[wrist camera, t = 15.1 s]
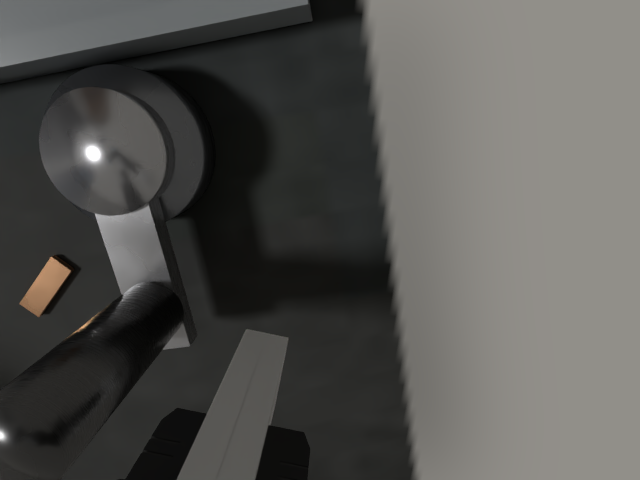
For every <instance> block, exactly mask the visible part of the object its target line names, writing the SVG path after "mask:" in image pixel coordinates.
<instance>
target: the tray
mask: <svg viewBox="0 0 640 480" xmlns="http://www.w3.org/2000/svg"><path fill="white" fill-rule="evenodd" d="M311 21H313V20H312V13H311V7H310V1H309V0H0V84H2V83H7V82H12V81H17V80H22V79H27V78H32V77H37V76H42V75H47V74H52V73H57V72H62V71H67V70H72V69H77V68H82V67H87V66H92V65H97V64H101V63H106V62H111V61H116V60H121V59H126V58H131V57H136V56H141V55H146V54H151V53H156V52H161V51H166V50H171V49H176V48H181V47H186V46H191V45H196V44H201V43H206V42H211V41H216V40H221V39H226V38H231V37H236V36H241V35H246V34H251V33H256V32H261V31H266V30H271V29H276V28H281V27H286V26H291V25H296V24H301V23H306V22H311Z"/></svg>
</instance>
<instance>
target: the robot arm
mask: <svg viewBox="0 0 640 480" xmlns="http://www.w3.org/2000/svg"><path fill="white" fill-rule="evenodd" d="M288 339H289V338H287V337H283V336H278V335H273V334H268V333H263V332H258V331H253V330H249V329H246V330H245V333H244V335H243V337H242V339H241V341H240V343H239V346H238V348H237V350H236V352H235V354H234V356H233V359H232V361H231V363H230V365H229V367H228V369H227V372H226V374H225V376H224V378H223V380H222V382H221V384H220V387H219V389H218V391H217V393H216V395H215V397H214V400H213V402H212V404H211V406H210V408H209V410H208V413H207V414H205V413H200V412H195V411H190V410H185V409H180V408H176V409H175V410H174V411H172V412H171V413H170V414H169V415H167V416H166V417H165V418H163V419H162V420H161V422H160V423H159V425H158V426H157V428H156V430H155V431H154V433H153V435H152V437H151V439H150V440H149V441H148V443H147V445H146V446H145V448H144V450H143V453H141V454H140V456H139V458H138V459H137V461H136V463H135V464H134V466H133V468H132V469H131V471H130V473H129V474H128V476H127V478H126V479H119V480H307V477H308V466H309V455H310V447H309V445H308V442H307V439H306V436H305V434H304V432H300V431H295V430H290V429H285V428H280V427H275V426H270V425H271V420H272V416H273V412H274V408H275V403H276V398H277V393H278V388H279V383H280V379H281V374H282V369H283V364H284V359H285V354H286V349H287V344H288Z"/></svg>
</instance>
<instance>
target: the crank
mask: <svg viewBox="0 0 640 480" xmlns="http://www.w3.org/2000/svg"><path fill="white" fill-rule="evenodd" d="M39 148H40V154H41V158H42V162H43V165H44V167H45V170H46V172H47V174H48V176H49V178H50V179H51V181H52V182H53V184H54V185H55V187H56V188H57V189H58V190H59V191H60V192H61V193H62V194H63V195H64V196H65V197H66V198H67V199H68V200H69V201H71V202H72V203H74V204H75V205H77V206H78V207H80V208H82V209H84V210H86V211H89V212H92V213H95V216H96V219H97V222H98V225H99V228H100V231H101V234H102V237H103V240H104V243H105V246H106V249H107V252H108V255H109V258H110V261H111V264H112V267H113V270H114V273H115V276H116V279H117V282H118V285H119V288H120V291H121V294H122V295H121V296H120V297H119V298H117V299H116V300H115V301H113V302H112V303H111V304H110V305H108V306H107V307H106V308H105V309H103V310H102V311H101V312H99V313H98V314H97V315H96V316H94V317H93V318H92V319H90V320H89V321H88V322H87V323H85V324H84V325H83V326H82V327H80V328H79V329H78V330H76V331H75V332H74V333H73V334H71V335H70V336H69V337H67V338H66V339H65V340H64V341H62V342H61V343H60V344H59V345H57V346H56V347H55V348H53V349H52V350H51V351H50V352H48V353H47V354H46V355H44V356H43V357H42V358H41V359H39V360H38V361H37V362H36V363H34V364H33V365H32V366H30V367H29V368H28V369H27V370H25V371H24V372H23V373H22V374H20V375H19V376H18V377H16V378H15V379H14V380H13V381H11V382H10V383H9V384H7V385H6V386H5V387H4V388H2V389H1V390H0V480H60V479H61V478H62V477H63V476H64V474H65V473H66V472H67V470H68V469H69V468H70V467H71V465H72V464H73V463H74V462H75V460H76V459H77V458H78V456H79V455H80V454H81V453H82V451H83V450H84V449H85V448H86V446H87V445H88V444H89V442H90V441H91V440H92V439H93V437H94V436H95V435H96V434H97V432H98V431H99V430H100V428H101V427H102V426H103V425H104V423H105V422H106V421H107V420H108V418H109V417H110V416H111V414H112V413H113V412H114V411H115V409H116V408H117V407H118V406H119V404H120V403H121V402H122V400H123V399H124V398H125V397H126V395H127V394H128V393H129V392H130V390H131V389H132V388H133V386H134V385H135V384H136V383H137V381H138V380H139V379H140V378H141V376H142V375H143V374H144V372H145V371H146V370H147V369H148V367H149V366H150V365H151V364H152V362H153V361H154V360H155V358H156V357H157V356H158V355H159V353H160V352H161V351H162V350H164V349H172V348H180V347H188V346H191V344H192V343H193V341H194V340H195V338H196V337H197V331H196V328H195V324H194V321H193V317H192V314H191V310H190V307H189V303H188V300H187V296H186V293H185V289H184V286H183V282H182V278H181V275H180V271H179V268H178V264H177V261H176V257H175V254H174V250H173V247H172V243H171V240H170V236H169V233H168V229H167V226H166V222H165V219H164V215H163V212H162V208H161V205H160V201H159V197H160V196H161V195H162V194H163V193H164V192H165V191H166V189H167V188H168V186H169V184H170V182H171V180H172V177H173V174H174V170H175V160H176V157H175V148H174V143H173V139H172V136H171V134H170V132H169V129H168V127H167V126H166V124H165V122H164V121H163V119H162V118H161V117H160V115H159V114H158V113H157V112H156V111H155V110H154V109H153V108H152V107H151V106H150V105H149V104H147V103H146V102H145V101H143V100H142V99H140V98H138V97H136V96H134V95H132V94H130V93H126V92H123V91H118V90H112V89H105V88H99V87H84V88H78V89H75V90H72V91H70V92H67V93H65V94H64V95H62V96H61V97H59V98H58V99H57V100H56V101H55V102H54V103H53V104H52V105H51V106H50V108H49V109H48V111H47V112H46V114H45V116H44V118H43V121H42V124H41V128H40V135H39Z"/></svg>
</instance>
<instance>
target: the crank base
mask: <svg viewBox="0 0 640 480" xmlns="http://www.w3.org/2000/svg"><path fill="white" fill-rule="evenodd" d="M84 87H99V88H105V89H112V90H118V91H123V92H126V93H130V94H132V95H134V96H136V97H138V98H140V99H142V100H143V101H145V102H146V103H147V104H149V105H150V106H151V107H152V108H153V109H154V110H155V111H156V112H157V113H158V114H159V115H160V117H161V118H162V119H163V121H164V122H165V124H166V126H167V127H168V129H169V132H170V134H171V136H172V139H173V143H174V148H175V157H176V160H175V170H174V174H173V177H172V180H171V182H170V184H169V186H168V188H167V189H166V191H165V192H164V193H163V194H162V195H161V196H160V197H159V201H160V205H161V208H162V212H163V215H164V219H165V222H166V221H168V220H170V219H172V218H173V217H175V216H177V215H179V214H181V213H182V212H184V211H186V210H188V209H189V208H190V207H191V206H193V205H194V204H195V203H196V202H197V201H198V200H199V199H200V198H201V196H202V195H203V194H204V192H205V191H206V189H207V187H208V185H209V183H210V180H211V178H212V175H213V170H214V166H215V145H214V139H213V135H212V131H211V128H210V125H209V123H208V121H207V118H206V116H205V115H204V113H203V111H202V110H201V108H200V107H199V105H198V104H197V103H196V101H195V100H194V99H193V98H192V97H191V96H190V95H189V94H188V93H187V92H186V91H185V90H184V89H182V88H181V87H180V86H179V85H177V84H175V83H174V82H172V81H171V80H169V79H167V78H164V77H162V76H160V75H157V74H154V73H150V72H147V71H143V70H140V69H136V68H132V67H129V66H123V65H117V64H104V65H96V66H92V67H88V68H85V69H83V70H81V71H79V72H76V73H75V74H73V75H72V76H70V77H69V78H67V79H66V80H65V81H64V82H63V83H62V84H61V85H60V86H59V87H58V89H57V90H56V91H55V92H54V94H53V95H52V97H51V99H50V101H49V103H48V105H47V108H46V111H45V114H46V112H47V111H48V109H49V108H50V106H51V105H52V104H53V103H54V102H55V101H56V100H57V99H58V98H59V97H61V96H62V95H64V94H65V93H67V92H70V91H72V90H75V89H78V88H84ZM45 114H44V116H45ZM70 202H71V201H70ZM71 203H72V202H71ZM72 204H73V205H74V206H75V207H76V208H78V209H79V210H80V211H81V212H83V213H84V214H86V215H87V216H89V217H90V218H92V219H94V220H96V221H97V219H96V216H95V213H92V212H89V211H86V210H84V209H82V208H80V207H78V206H77V205H75V204H74V203H72ZM73 271H74V268H73V267H71V266H70V265H69V264H67V263H66V262H64V261H63V260H62V259H60V258H59V257H58V256H56V255H54V256H52V257H51V258H50V259H49V261H48V262H47V264H46V265H45V267H44V268H43V270H42V271H41V273H40V274H39V276H38V277H37V279H36V280H35V282H34V283H33V285H32V286H31V288H30V289H29V290H28V292H27V293H26V295H25V296H24V298H23V299H22V301H21V302H20V305H22V306H23V307H25V308H26V309H28V310H29V311H31V312H32V313H33V314H35V315H36V316H38V317H40V316H41V315H43V313H44V312H45V310H46V309H47V308H48V306H49V305H50V303H51V302H52V301H53V299H54V298H55V296H56V295H57V293H58V292H59V291H60V289H61V288H62V286H63V285H64V283H65V282H66V281H67V279H68V278H69V276H70V275H71V274H72V272H73Z"/></svg>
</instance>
